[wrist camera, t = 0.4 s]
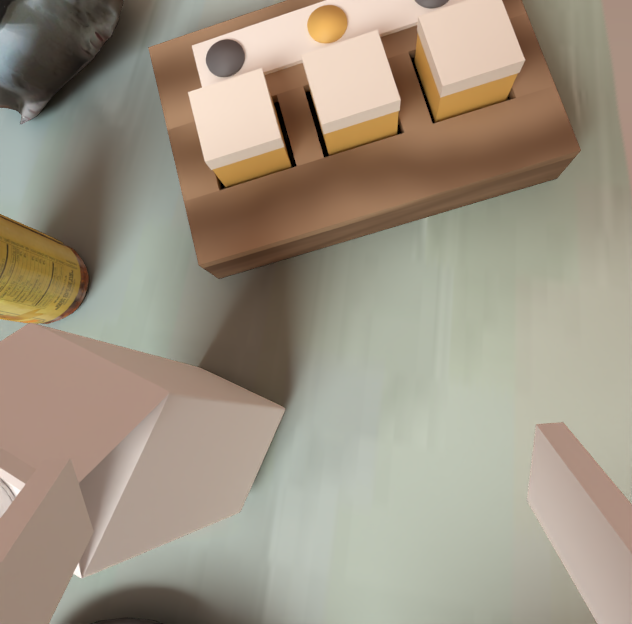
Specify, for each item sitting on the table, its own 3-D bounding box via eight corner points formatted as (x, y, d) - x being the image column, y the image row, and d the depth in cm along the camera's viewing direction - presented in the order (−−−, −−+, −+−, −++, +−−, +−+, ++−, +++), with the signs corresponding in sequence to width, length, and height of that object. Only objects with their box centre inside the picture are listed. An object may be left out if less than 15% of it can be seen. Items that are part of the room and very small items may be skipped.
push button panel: (471, 7, 32) (472, 1, 31) (204, 95, 33) (202, 90, 32) (453, -40, 32) (455, -47, 32) (193, 48, 34) (190, 43, 33)
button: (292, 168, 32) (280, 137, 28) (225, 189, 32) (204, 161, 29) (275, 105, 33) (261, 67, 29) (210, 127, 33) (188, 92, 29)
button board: (556, 178, 33) (580, 150, 29) (218, 278, 35) (198, 265, 31) (481, -21, 36) (493, -70, 32) (172, 82, 38) (148, 47, 34)
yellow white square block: (506, 101, 31) (525, 60, 27) (434, 123, 31) (442, 86, 27) (483, 38, 32) (497, -11, 28) (413, 61, 32) (418, 16, 28)
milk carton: (198, 366, 34) (-64, 295, 16) (287, 408, 32) (99, 381, 14) (153, 463, 34) (-176, 501, 16) (241, 513, 31) (-20, 624, 13)
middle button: (397, 135, 32) (400, 99, 28) (328, 157, 32) (321, 124, 28) (377, 72, 32) (377, 29, 28) (310, 94, 33) (300, 55, 29)
